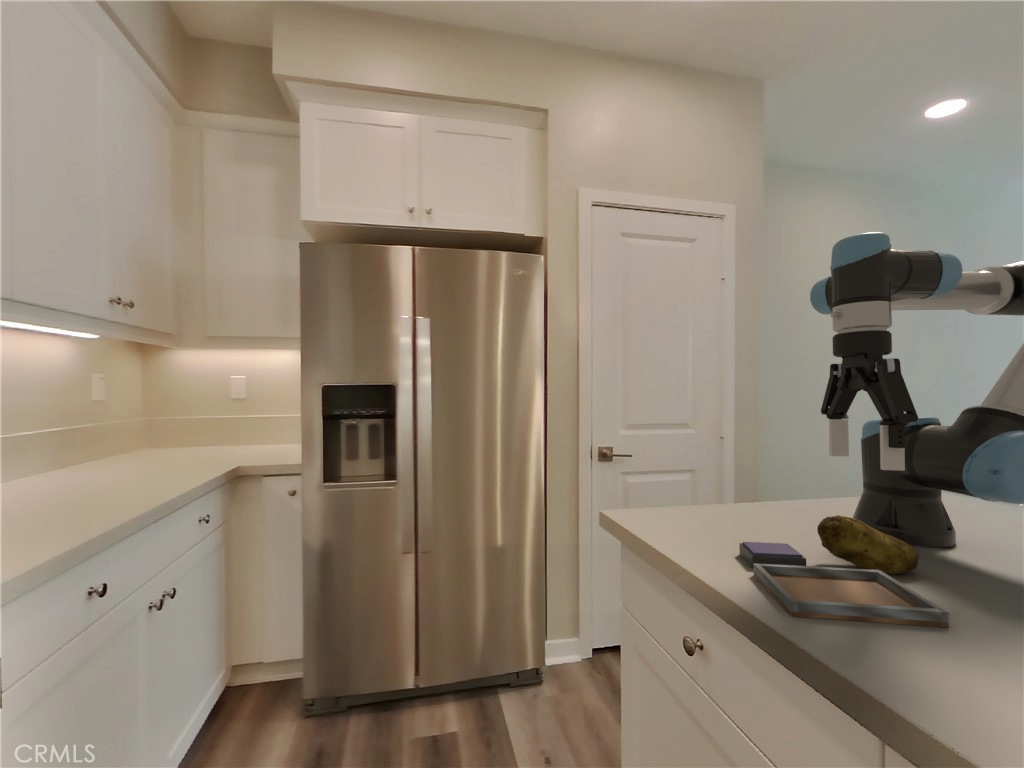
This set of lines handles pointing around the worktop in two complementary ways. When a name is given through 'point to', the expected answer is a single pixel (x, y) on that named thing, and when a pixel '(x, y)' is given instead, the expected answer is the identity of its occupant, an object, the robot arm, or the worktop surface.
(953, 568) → the worktop surface
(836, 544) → the potato
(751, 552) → the ink pad
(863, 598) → the metal baking tray
